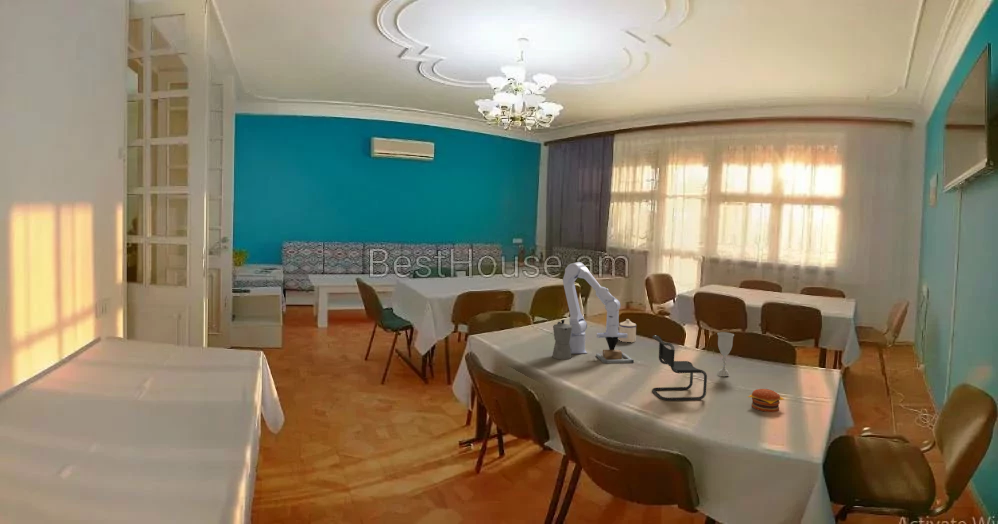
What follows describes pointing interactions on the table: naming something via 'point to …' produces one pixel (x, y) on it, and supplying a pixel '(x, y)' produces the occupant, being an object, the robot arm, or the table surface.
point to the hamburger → (765, 400)
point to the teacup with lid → (628, 330)
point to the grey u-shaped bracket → (626, 360)
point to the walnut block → (612, 354)
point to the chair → (677, 370)
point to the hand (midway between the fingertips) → (611, 352)
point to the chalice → (724, 349)
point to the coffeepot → (562, 340)
